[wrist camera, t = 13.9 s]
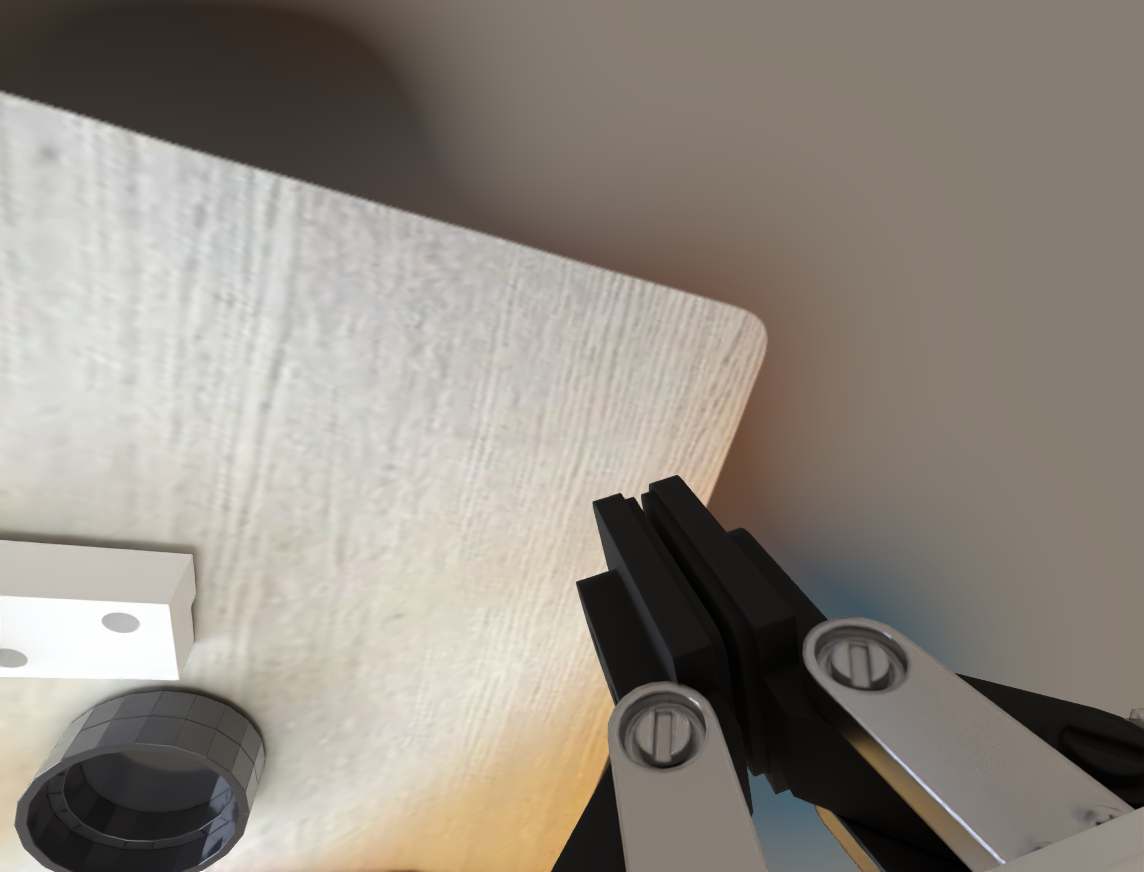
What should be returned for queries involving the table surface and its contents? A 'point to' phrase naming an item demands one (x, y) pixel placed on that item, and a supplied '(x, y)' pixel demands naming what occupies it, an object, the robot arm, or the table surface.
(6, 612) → the bracket
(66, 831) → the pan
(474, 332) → the table surface
